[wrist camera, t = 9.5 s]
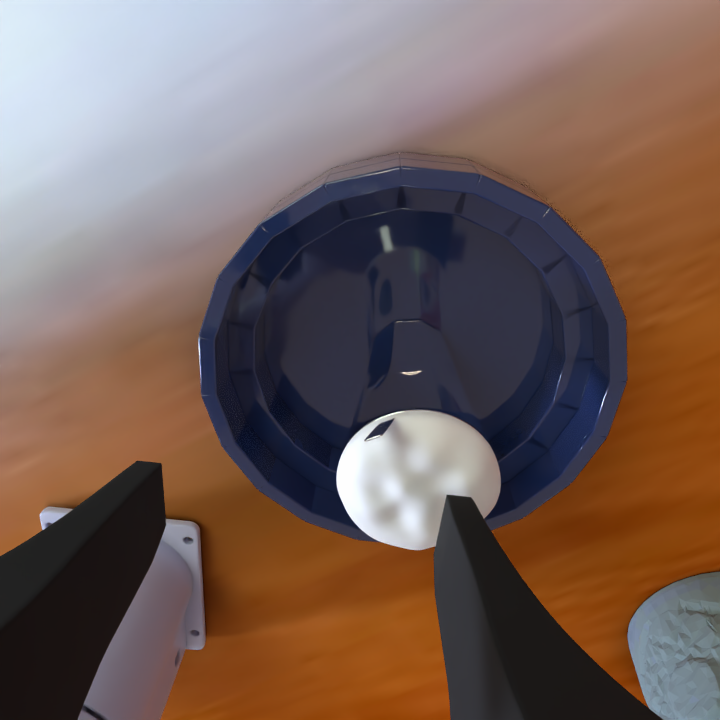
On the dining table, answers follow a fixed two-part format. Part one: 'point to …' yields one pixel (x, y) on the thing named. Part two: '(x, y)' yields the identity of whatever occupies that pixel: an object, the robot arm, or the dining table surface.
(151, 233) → the dining table surface
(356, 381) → the bowl
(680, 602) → the grey green cup
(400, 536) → the milkshake
